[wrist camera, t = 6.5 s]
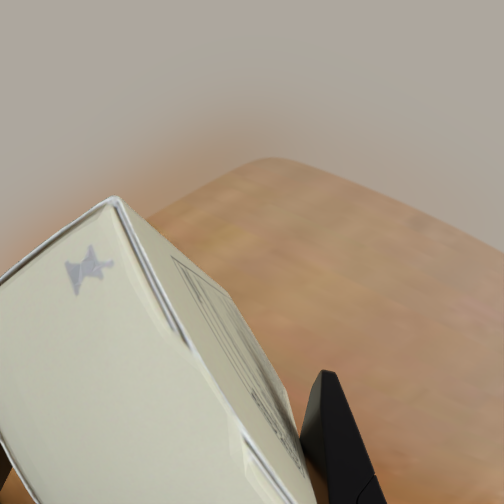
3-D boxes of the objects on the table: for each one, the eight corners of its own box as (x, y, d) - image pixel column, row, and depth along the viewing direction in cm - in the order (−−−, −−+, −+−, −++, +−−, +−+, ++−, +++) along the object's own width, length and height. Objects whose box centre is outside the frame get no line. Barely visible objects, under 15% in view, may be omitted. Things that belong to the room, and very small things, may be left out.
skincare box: (154, 329, 16) (-51, 301, 4) (227, 287, 16) (110, 167, 4) (216, 437, 14) (108, 602, 2) (293, 399, 14) (339, 557, 3)
